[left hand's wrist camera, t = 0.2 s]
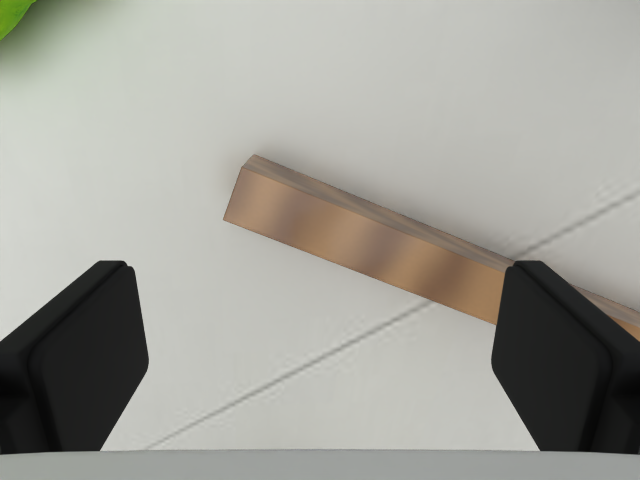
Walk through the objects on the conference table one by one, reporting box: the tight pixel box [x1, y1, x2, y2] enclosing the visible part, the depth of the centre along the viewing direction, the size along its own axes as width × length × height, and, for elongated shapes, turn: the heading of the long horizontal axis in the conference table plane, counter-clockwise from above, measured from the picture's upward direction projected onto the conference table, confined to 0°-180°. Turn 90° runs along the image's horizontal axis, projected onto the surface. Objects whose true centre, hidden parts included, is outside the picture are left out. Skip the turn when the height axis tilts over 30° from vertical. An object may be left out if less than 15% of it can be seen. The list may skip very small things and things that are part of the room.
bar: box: [223, 155, 640, 341], centre depth 41 cm, size 55×5×6 cm, turn 67°
